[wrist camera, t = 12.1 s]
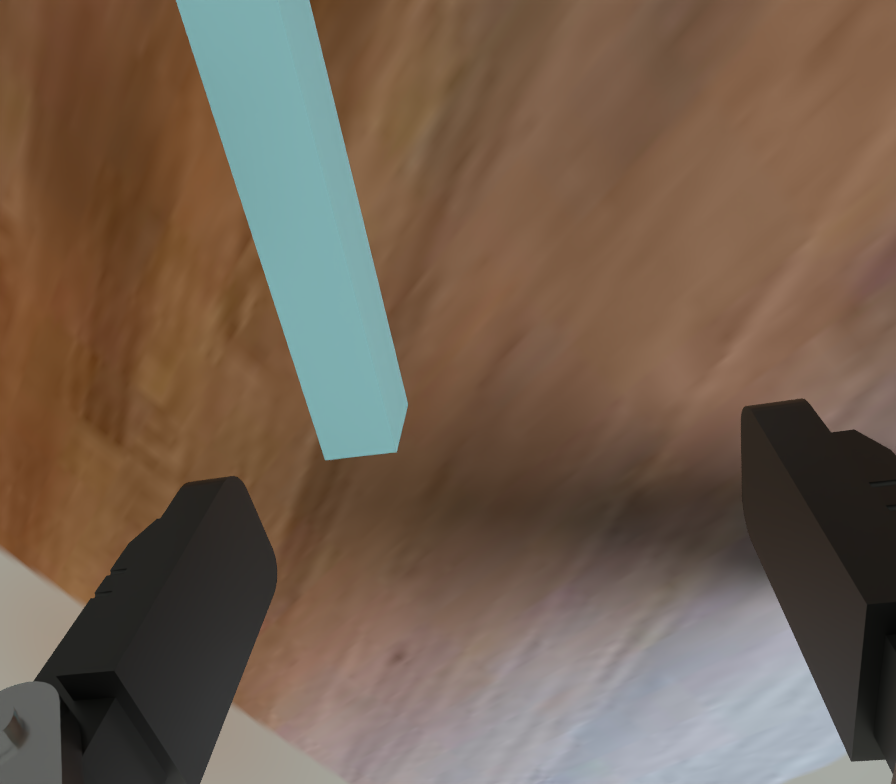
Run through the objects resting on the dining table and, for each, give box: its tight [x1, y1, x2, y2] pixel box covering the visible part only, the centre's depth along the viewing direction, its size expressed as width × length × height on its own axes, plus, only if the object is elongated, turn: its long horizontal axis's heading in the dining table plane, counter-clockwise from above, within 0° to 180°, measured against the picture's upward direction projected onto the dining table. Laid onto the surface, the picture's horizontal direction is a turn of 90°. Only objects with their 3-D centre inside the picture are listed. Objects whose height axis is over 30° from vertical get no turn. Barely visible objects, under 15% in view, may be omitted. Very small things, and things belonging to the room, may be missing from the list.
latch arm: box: [176, 0, 408, 460], centre depth 19 cm, size 3×21×3 cm, turn 10°
